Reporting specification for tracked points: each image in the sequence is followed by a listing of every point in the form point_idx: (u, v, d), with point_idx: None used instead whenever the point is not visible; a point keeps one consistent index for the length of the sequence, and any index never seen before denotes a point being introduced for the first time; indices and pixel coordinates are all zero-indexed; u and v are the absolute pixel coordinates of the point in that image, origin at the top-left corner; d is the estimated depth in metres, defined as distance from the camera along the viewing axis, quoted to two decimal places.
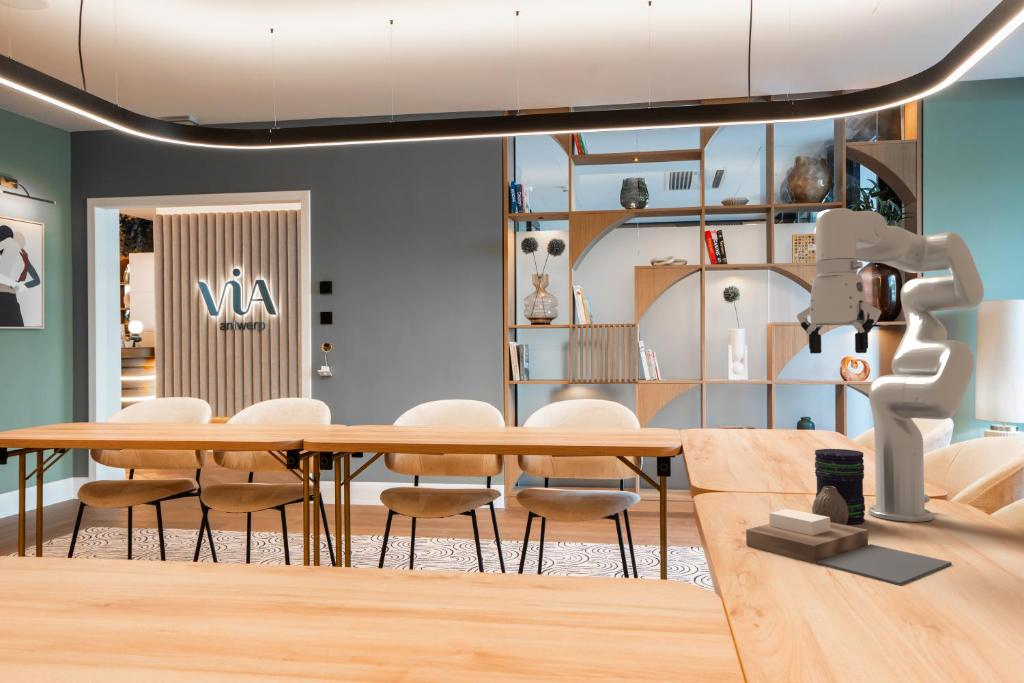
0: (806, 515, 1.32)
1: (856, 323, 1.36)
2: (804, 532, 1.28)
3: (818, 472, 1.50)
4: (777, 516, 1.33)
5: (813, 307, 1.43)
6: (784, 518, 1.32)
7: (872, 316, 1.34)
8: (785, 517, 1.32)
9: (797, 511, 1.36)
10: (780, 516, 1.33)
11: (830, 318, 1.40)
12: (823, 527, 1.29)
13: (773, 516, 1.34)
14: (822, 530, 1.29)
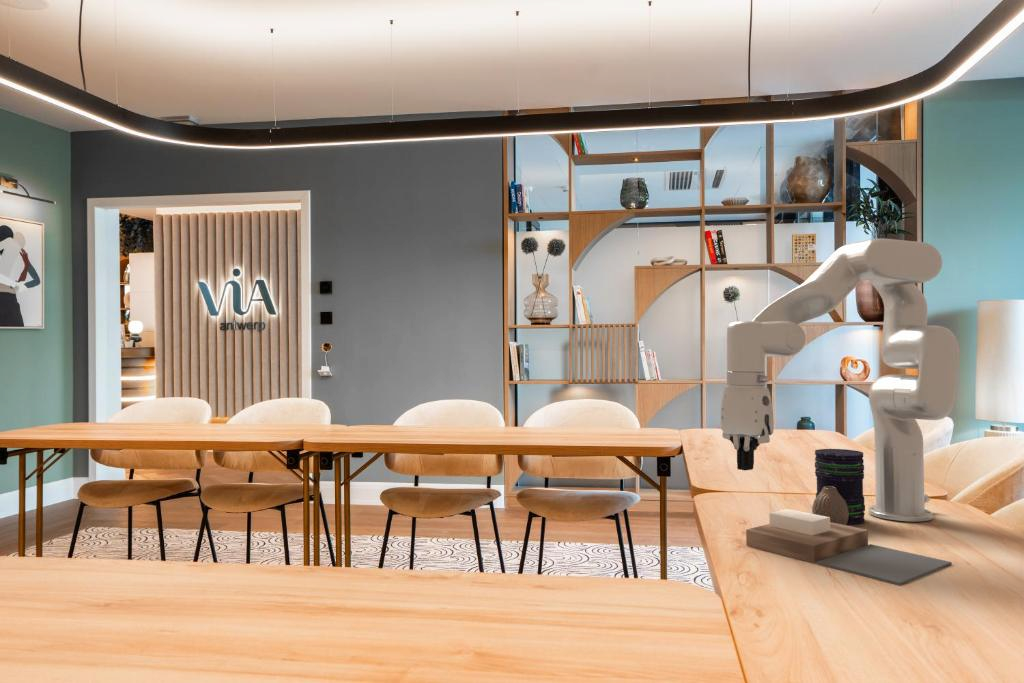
0: (806, 515, 1.32)
1: (748, 441, 1.40)
2: (804, 532, 1.28)
3: (818, 472, 1.50)
4: (777, 516, 1.33)
5: (723, 416, 1.44)
6: (784, 518, 1.32)
7: (759, 440, 1.39)
8: (785, 517, 1.32)
9: (797, 511, 1.36)
10: (780, 516, 1.33)
11: (738, 429, 1.41)
12: (823, 527, 1.29)
13: (773, 516, 1.34)
14: (822, 530, 1.29)
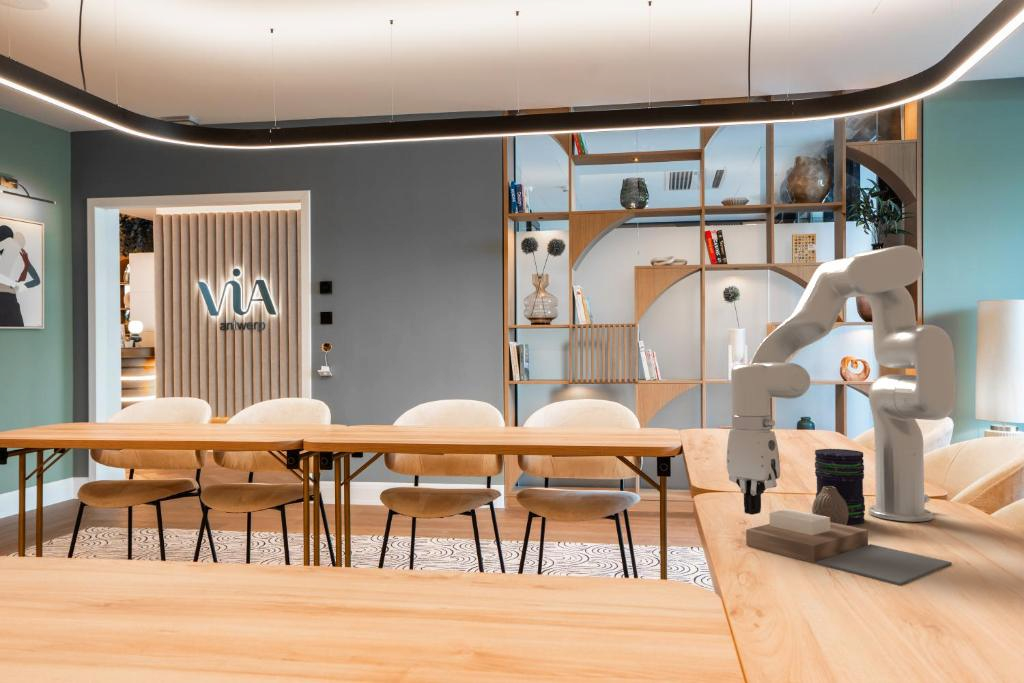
0: (806, 515, 1.32)
1: (754, 485, 1.39)
2: (804, 532, 1.28)
3: (818, 472, 1.50)
4: (777, 516, 1.33)
5: (729, 459, 1.43)
6: (784, 518, 1.32)
7: (766, 484, 1.38)
8: (785, 517, 1.32)
9: (797, 511, 1.36)
10: (780, 516, 1.33)
11: (744, 473, 1.40)
12: (823, 527, 1.29)
13: (773, 516, 1.34)
14: (822, 530, 1.29)
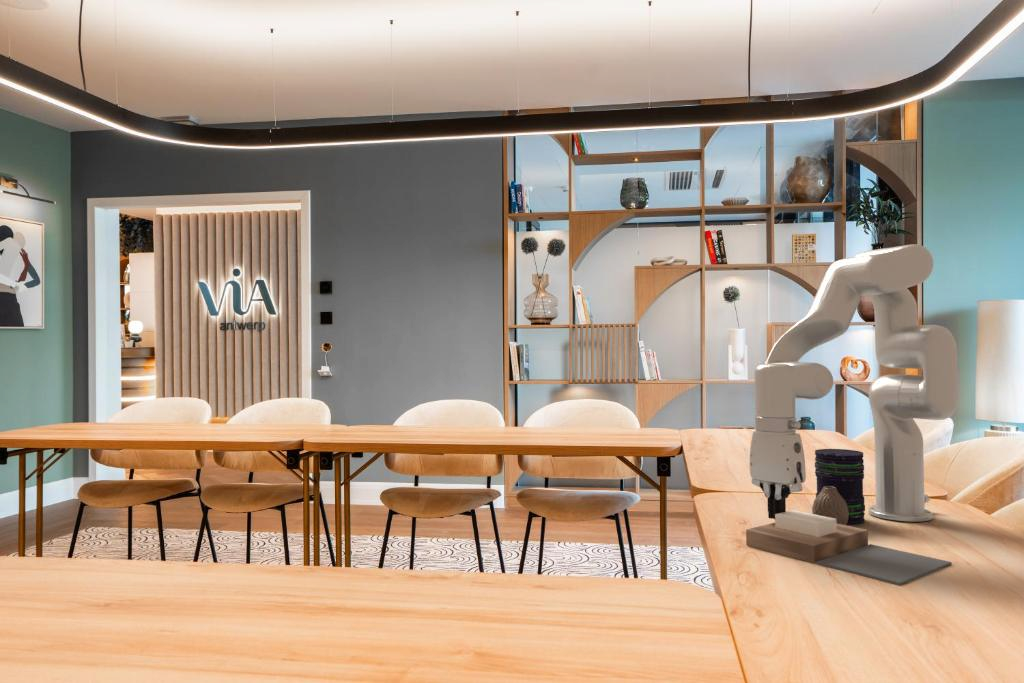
0: (812, 516, 1.31)
1: (779, 489, 1.35)
2: (810, 534, 1.27)
3: (818, 472, 1.50)
4: (783, 517, 1.32)
5: (752, 462, 1.39)
6: (790, 519, 1.31)
7: (791, 489, 1.33)
8: (791, 518, 1.31)
9: (803, 512, 1.35)
10: (786, 517, 1.32)
11: (768, 477, 1.36)
12: (830, 529, 1.28)
13: (779, 517, 1.33)
14: (829, 532, 1.28)
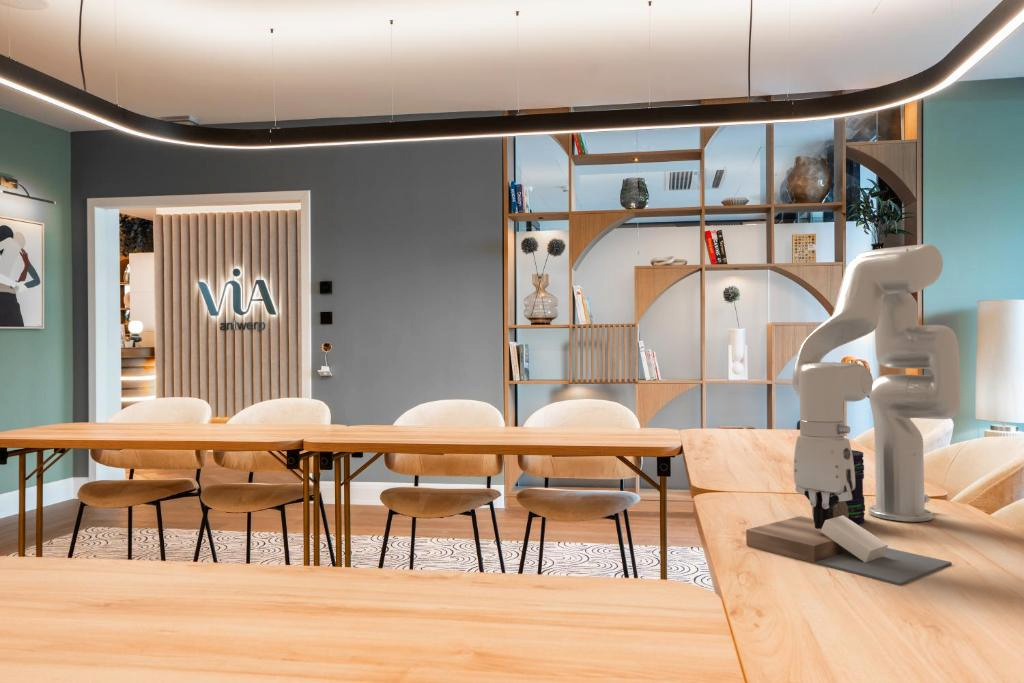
0: (863, 534, 1.23)
1: (827, 498, 1.27)
2: (857, 555, 1.20)
3: None
4: (833, 527, 1.24)
5: (797, 468, 1.31)
6: (840, 532, 1.23)
7: (840, 497, 1.25)
8: (842, 532, 1.22)
9: (853, 523, 1.26)
10: (836, 529, 1.23)
11: (815, 484, 1.28)
12: (878, 554, 1.21)
13: (828, 525, 1.25)
14: (876, 557, 1.21)
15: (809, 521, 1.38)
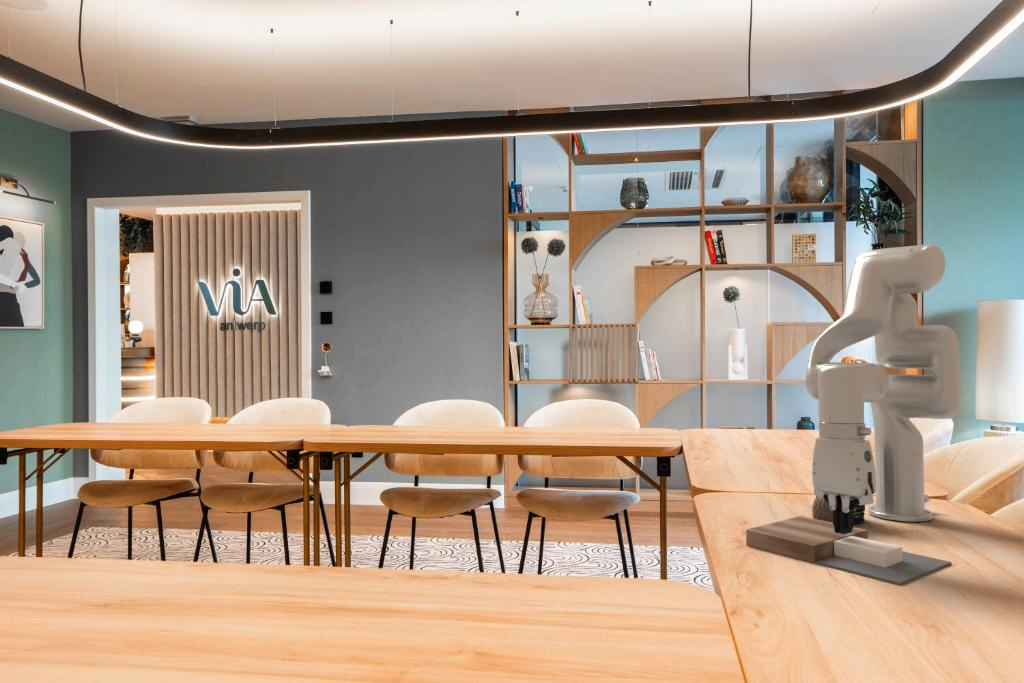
0: (875, 544, 1.21)
1: (847, 501, 1.23)
2: (875, 563, 1.17)
3: None
4: (843, 545, 1.22)
5: (815, 471, 1.27)
6: (851, 547, 1.21)
7: (861, 501, 1.22)
8: (853, 546, 1.21)
9: (863, 539, 1.25)
10: (847, 545, 1.22)
11: (835, 488, 1.24)
12: (896, 558, 1.18)
13: (838, 545, 1.23)
14: (895, 561, 1.18)
15: (809, 521, 1.38)
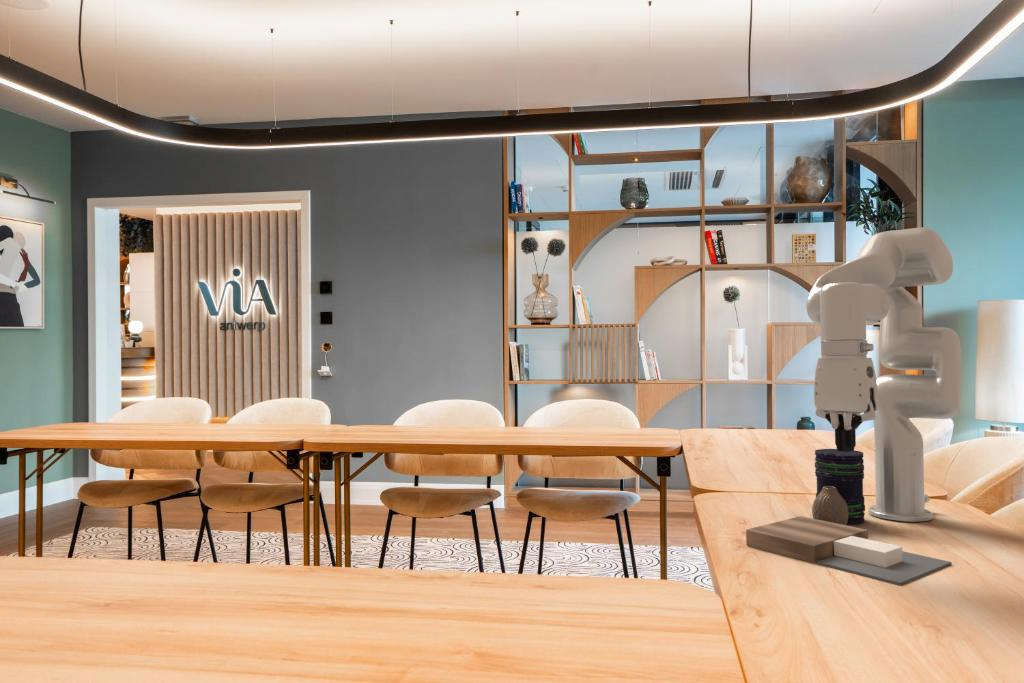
0: (875, 544, 1.21)
1: (849, 418, 1.23)
2: (875, 563, 1.17)
3: (818, 472, 1.50)
4: (843, 545, 1.22)
5: (817, 391, 1.27)
6: (851, 547, 1.21)
7: (863, 417, 1.22)
8: (853, 546, 1.21)
9: (863, 539, 1.25)
10: (847, 545, 1.22)
11: (837, 405, 1.24)
12: (896, 558, 1.18)
13: (838, 545, 1.23)
14: (895, 561, 1.18)
15: (809, 521, 1.38)
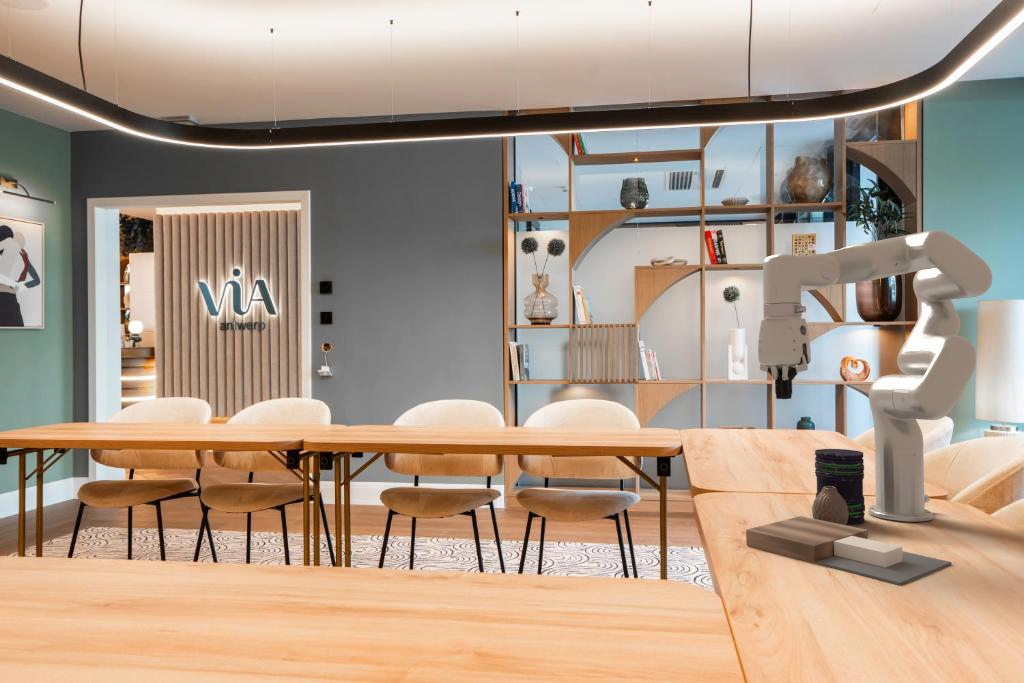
0: (875, 544, 1.21)
1: (786, 370, 1.45)
2: (875, 563, 1.17)
3: (818, 472, 1.50)
4: (843, 545, 1.22)
5: (761, 348, 1.49)
6: (851, 547, 1.21)
7: (797, 368, 1.43)
8: (853, 546, 1.21)
9: (863, 539, 1.25)
10: (847, 545, 1.22)
11: (776, 359, 1.46)
12: (896, 558, 1.18)
13: (838, 545, 1.23)
14: (895, 561, 1.18)
15: (809, 521, 1.38)
